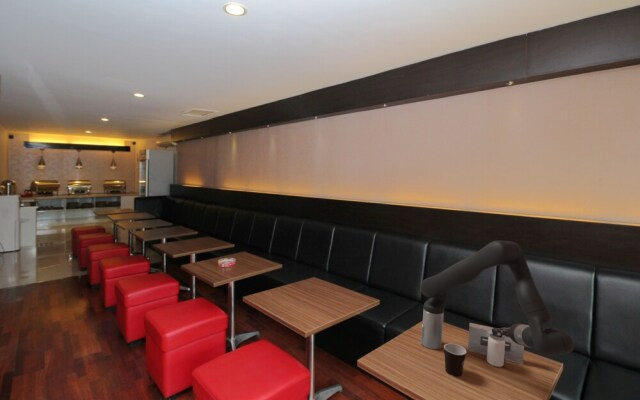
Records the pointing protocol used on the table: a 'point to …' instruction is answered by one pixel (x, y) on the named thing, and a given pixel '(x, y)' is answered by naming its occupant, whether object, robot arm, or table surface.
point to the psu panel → (480, 343)
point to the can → (495, 351)
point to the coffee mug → (454, 359)
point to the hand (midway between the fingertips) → (504, 330)
